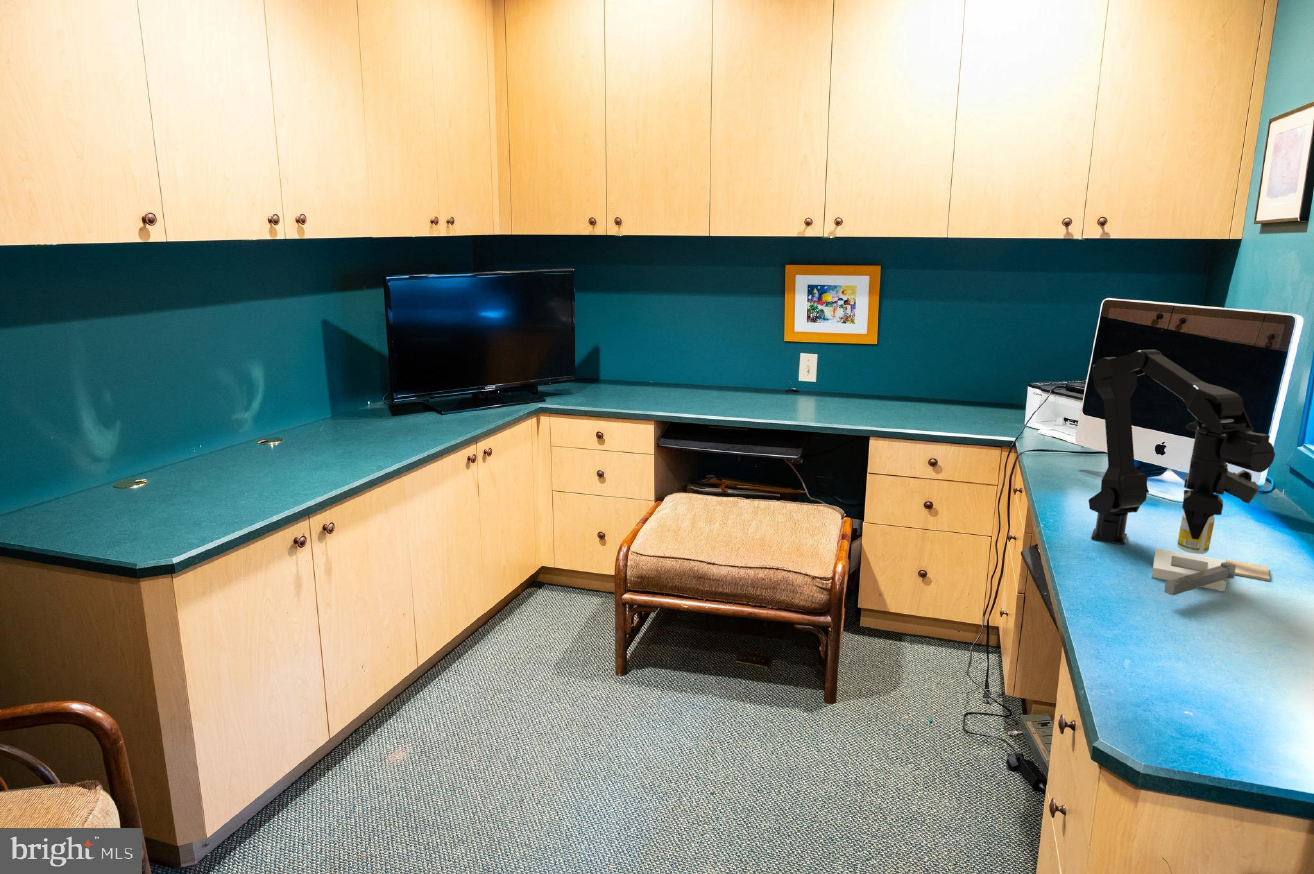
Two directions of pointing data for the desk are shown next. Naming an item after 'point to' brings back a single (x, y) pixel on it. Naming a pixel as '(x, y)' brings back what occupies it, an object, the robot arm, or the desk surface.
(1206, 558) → the socket housing
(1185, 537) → the supplement bottle
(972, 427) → the desk surface
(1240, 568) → the coaster
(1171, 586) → the latch arm
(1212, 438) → the robot arm
